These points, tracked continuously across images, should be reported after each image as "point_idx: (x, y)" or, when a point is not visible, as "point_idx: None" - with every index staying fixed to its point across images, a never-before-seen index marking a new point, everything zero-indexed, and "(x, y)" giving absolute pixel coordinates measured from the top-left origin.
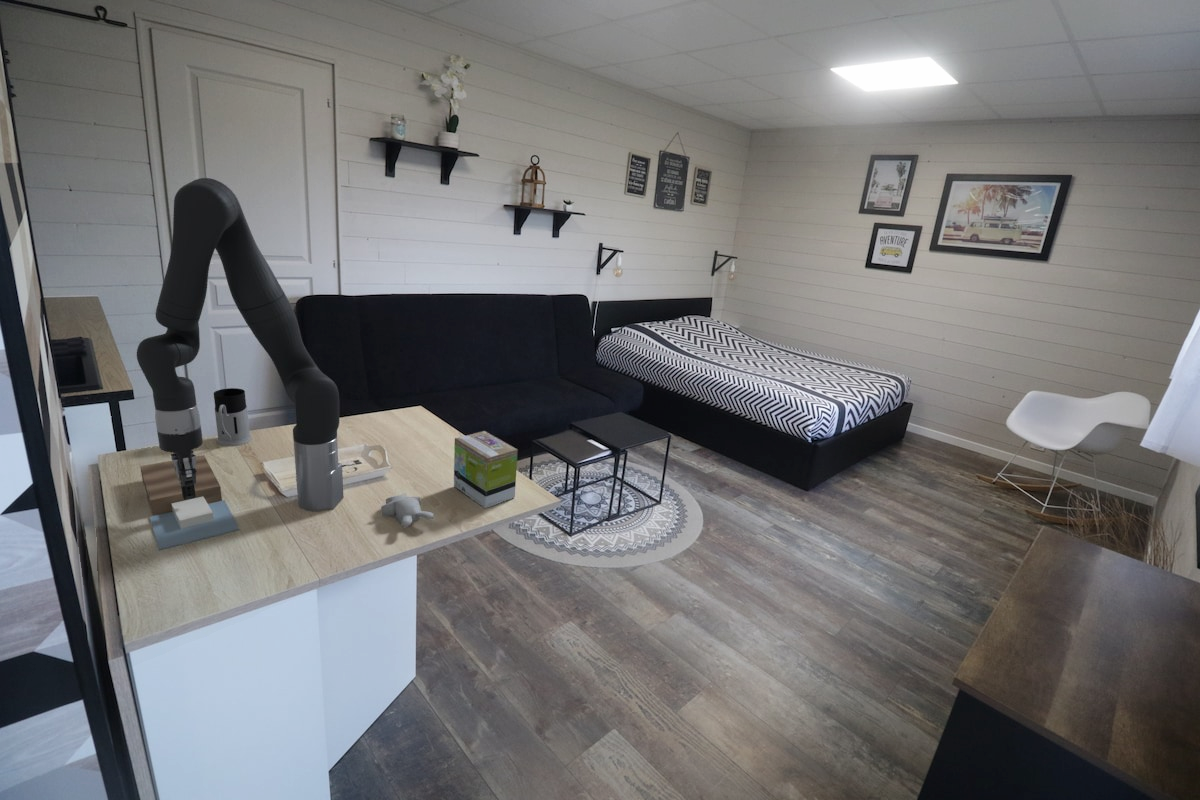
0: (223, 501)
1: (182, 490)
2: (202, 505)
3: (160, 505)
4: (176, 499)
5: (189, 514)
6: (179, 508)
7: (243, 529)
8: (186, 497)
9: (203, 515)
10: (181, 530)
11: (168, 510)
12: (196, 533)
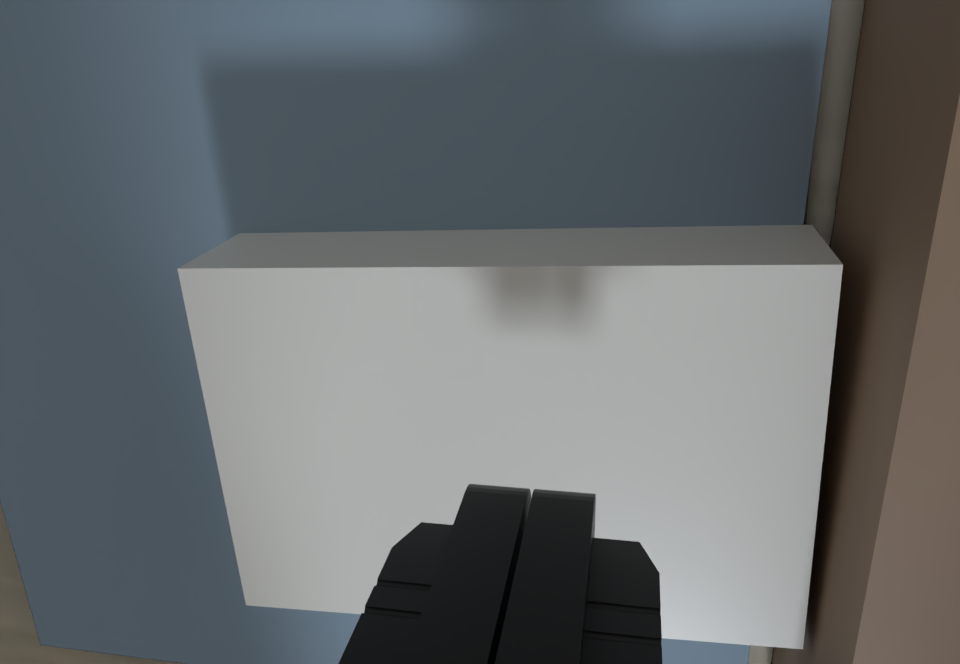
0: None
1: (425, 615)
2: None
3: (899, 104)
4: (876, 361)
5: (311, 400)
6: (575, 332)
7: (49, 657)
8: (398, 546)
9: (229, 513)
10: (193, 232)
11: (846, 183)
12: (73, 346)
